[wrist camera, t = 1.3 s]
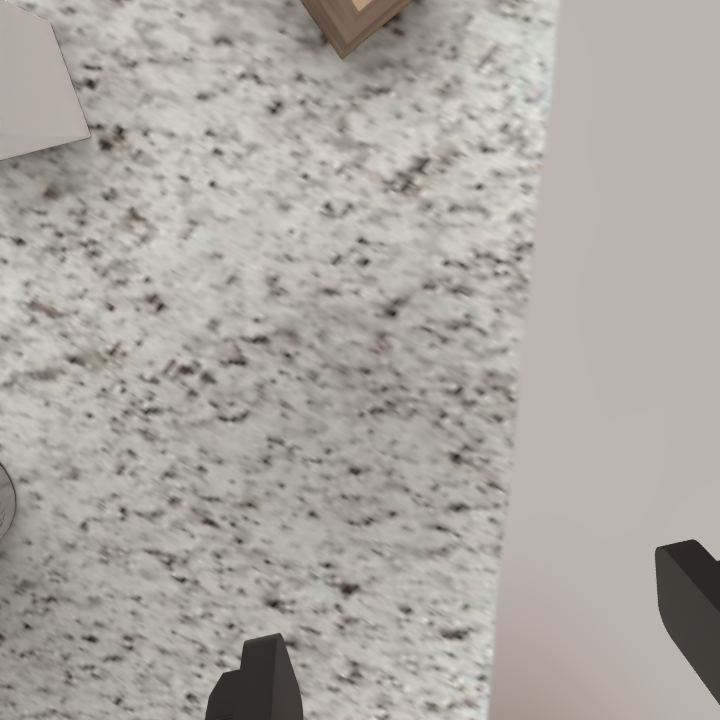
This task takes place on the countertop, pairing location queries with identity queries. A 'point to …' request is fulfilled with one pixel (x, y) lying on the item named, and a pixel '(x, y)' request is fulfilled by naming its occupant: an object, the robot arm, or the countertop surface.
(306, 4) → the light wood block
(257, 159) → the countertop surface
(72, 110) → the milk
